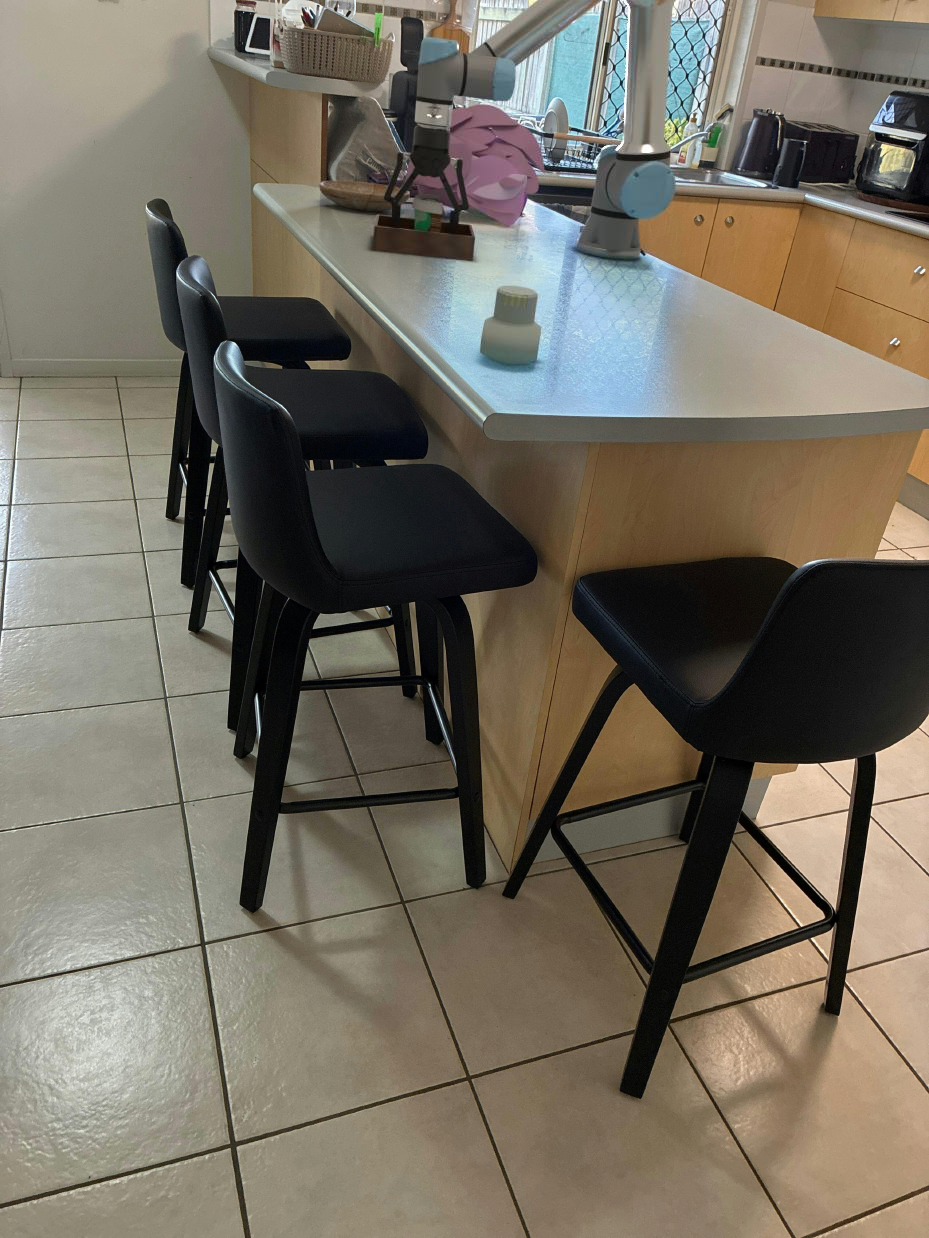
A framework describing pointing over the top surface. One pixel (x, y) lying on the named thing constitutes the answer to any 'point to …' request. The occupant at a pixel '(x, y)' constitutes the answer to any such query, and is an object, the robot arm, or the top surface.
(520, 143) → the flower arrangement
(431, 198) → the food container
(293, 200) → the top surface
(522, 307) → the air freshener
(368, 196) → the wooden bowl
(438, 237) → the wooden tray
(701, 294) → the top surface
